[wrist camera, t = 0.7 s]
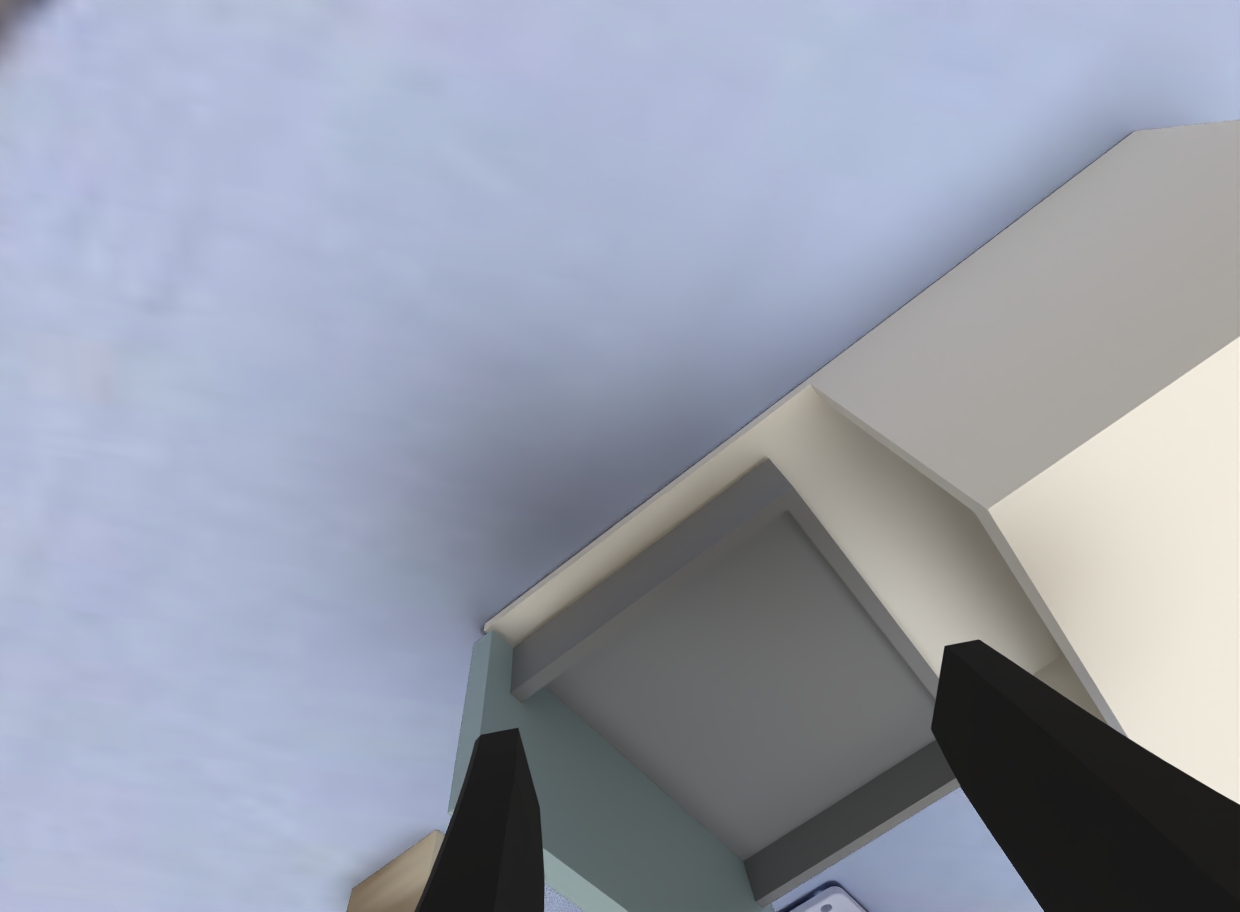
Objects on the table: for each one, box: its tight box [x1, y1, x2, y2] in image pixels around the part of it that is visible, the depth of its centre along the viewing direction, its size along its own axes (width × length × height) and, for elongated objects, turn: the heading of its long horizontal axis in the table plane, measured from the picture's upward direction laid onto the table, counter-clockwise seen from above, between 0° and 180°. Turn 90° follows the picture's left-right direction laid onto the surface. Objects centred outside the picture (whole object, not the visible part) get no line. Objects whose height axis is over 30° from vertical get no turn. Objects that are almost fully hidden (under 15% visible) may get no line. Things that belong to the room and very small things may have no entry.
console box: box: [484, 120, 1240, 804], centre depth 19 cm, size 24×16×9 cm, turn 128°
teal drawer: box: [448, 458, 960, 912], centre depth 20 cm, size 11×16×6 cm
